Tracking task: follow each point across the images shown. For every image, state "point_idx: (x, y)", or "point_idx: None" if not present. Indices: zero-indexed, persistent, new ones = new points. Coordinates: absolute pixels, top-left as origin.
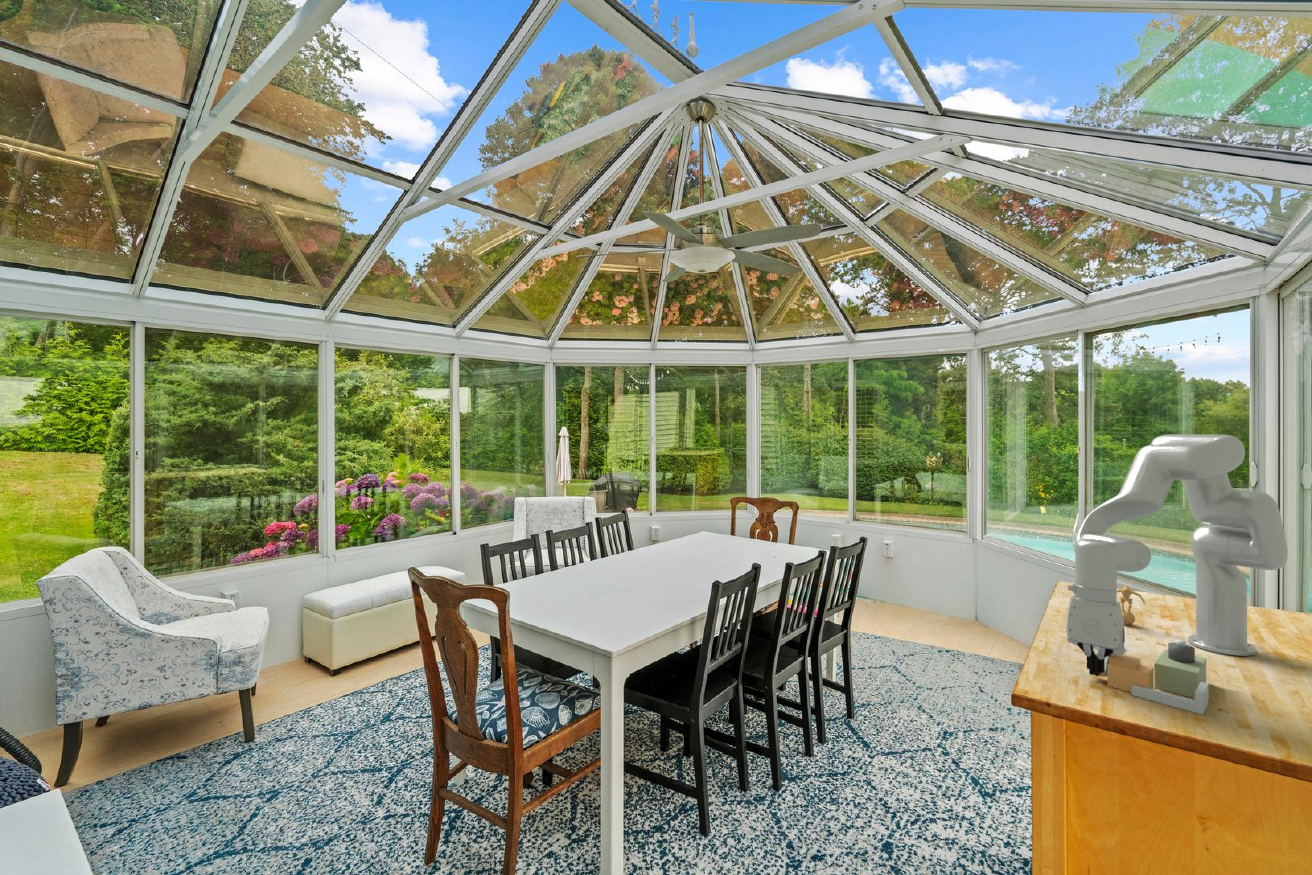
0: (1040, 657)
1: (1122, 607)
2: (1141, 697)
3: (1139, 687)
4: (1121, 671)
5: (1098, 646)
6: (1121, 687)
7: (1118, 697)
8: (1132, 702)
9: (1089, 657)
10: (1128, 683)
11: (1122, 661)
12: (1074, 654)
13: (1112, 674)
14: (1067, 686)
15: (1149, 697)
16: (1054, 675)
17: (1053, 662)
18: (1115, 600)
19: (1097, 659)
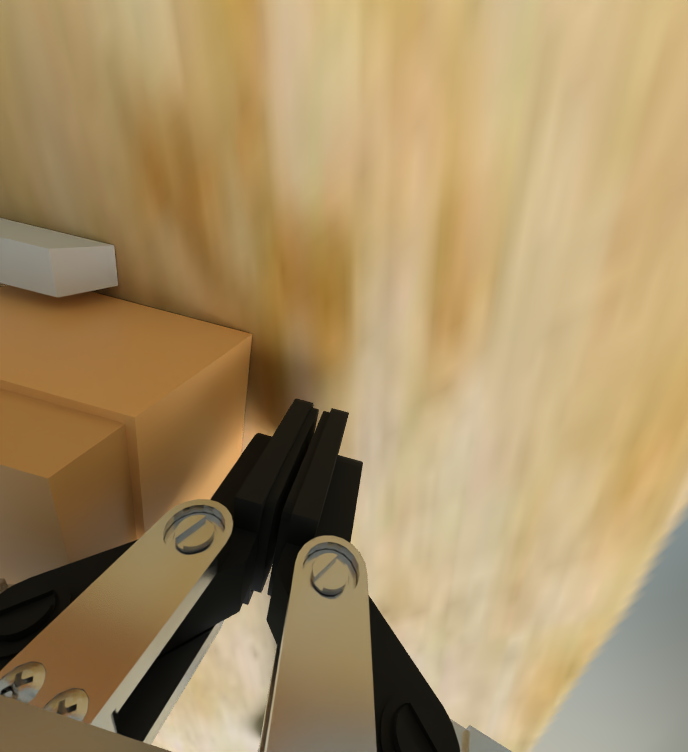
0: (604, 607)
1: None
2: (59, 234)
3: (8, 258)
4: (55, 361)
5: (13, 709)
6: (169, 320)
7: (161, 130)
8: (68, 78)
9: (319, 519)
10: (94, 319)
11: None
12: None
13: (167, 362)
14: (532, 112)
15: (3, 224)
16: (592, 346)
17: (539, 566)
18: None
19: (240, 494)
